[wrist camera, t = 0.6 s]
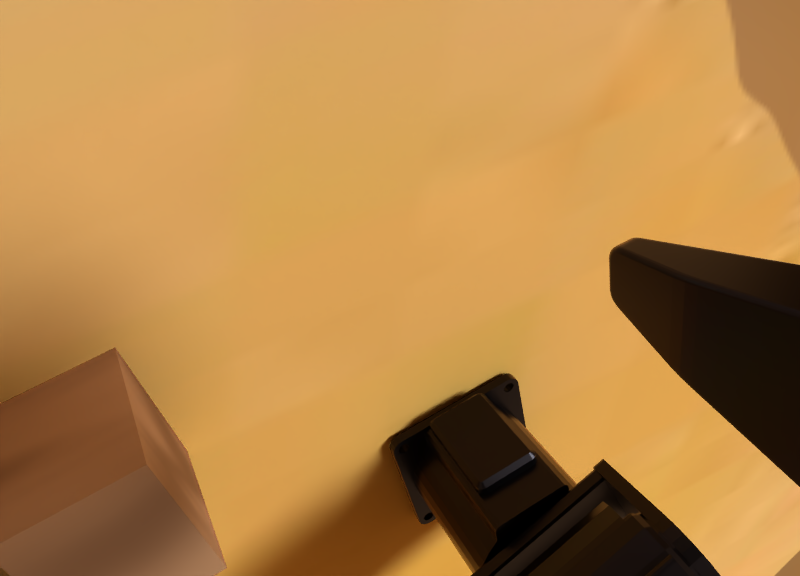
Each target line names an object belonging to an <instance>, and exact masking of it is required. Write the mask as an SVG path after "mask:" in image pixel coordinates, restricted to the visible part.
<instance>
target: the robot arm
mask: <svg viewBox="0 0 800 576" xmlns="http://www.w3.org/2000/svg"><path fill="white" fill-rule="evenodd" d="M609 269H610V292H611V296H612V298H613V301H614V302H615V304H616V305H617V307H618V308H619V309H620V310H621V311H622V312H623V313H624V315H625V316H626V317H627V318H628V319H629V320H630V321H631V323H632V324H633V325H634V326H635V327H636V328H637V329H638V331H639V332H640V333H641V334H642V335H643V336H644V337H645V338H646V340H647V341H648V342H649V343H650V344H651V345H652V346H653V348H654V349H655V350H656V351H657V352H658V353H659V354H660V355H661V357H662V358H663V359H664V360H665V361H666V362H667V363H668V365H669V366H670V367H671V368H672V369H673V370H674V371H675V372H676V373H677V374H678V375H679V376H680V377H681V378H682V379H683V380H684V381H685V382H686V383H687V384H688V385H689V386H690V387H691V388H692V389H693V390H695V391H696V392H697V393H698V394H699V395H700V396H701V397H702V398H703V399H704V400H705V401H707V402H708V403H709V404H710V405H711V406H712V407H713V408H714V409H715V410H716V411H717V412H719V413H720V414H721V415H722V416H723V417H724V418H725V419H726V420H727V421H728V422H729V423H731V424H732V425H733V426H734V427H735V428H736V429H737V430H738V431H739V432H740V433H741V434H743V435H744V436H745V437H746V438H747V439H748V440H749V441H750V442H751V443H752V444H753V445H755V446H756V447H757V448H758V449H759V450H760V451H761V452H762V453H763V454H764V455H765V456H767V457H768V458H769V459H770V460H771V461H772V462H773V463H774V464H775V465H776V466H777V467H779V468H780V469H781V470H782V471H783V472H784V473H785V474H786V475H787V476H788V477H789V478H791V479H792V480H793V481H794V482H795V483H796V484H797V485H798V486H799V487H800V265H797V264H791V263H785V262H779V261H773V260H767V259H761V258H755V257H750V256H744V255H738V254H732V253H726V252H720V251H714V250H708V249H702V248H696V247H690V246H684V245H678V244H672V243H667V242H661V241H655V240H649V239H643V238H632V239H629V240H627V241H626V242H624V243H622V244H620V245H618V246H616V247H614V248H613V249H612V250H611V252H610V255H609ZM390 450H391V452H392V455H393V458H394V460H395V463H396V465H397V468H398V471H399V473H400V476H401V478H402V481H403V484H404V486H405V489H406V491H407V494H408V496H409V499H410V502H411V504H412V507H413V509H414V512H415V515H416V517H417V518H418V520H419V521H420V523H421V524H427V523H429V522H431V521H433V520H434V519H437V520H438V522H439V523H440V525H441V526H442V528H443V529H444V531H445V532H446V534H447V535H448V537H449V538H450V540H451V541H452V543H453V544H454V546H455V547H456V549H457V550H458V552H459V553H460V555H461V556H462V558H463V559H464V561H465V562H466V564H467V565H468V567H469V568H470V570H471V571H472V573H473V574H472V575H471V576H720V574H719V573H718V572H717V571H716V569H715V568H714V567H713V566H712V564H711V563H710V562H709V561H708V560H707V559H706V557H705V556H704V555H703V554H702V553H701V552H700V551H699V550H698V548H697V547H696V546H695V545H694V544H693V543H692V542H691V541H690V540H689V539H688V538H687V537H686V536H685V535H684V533H683V532H682V531H681V530H680V529H679V528H678V527H677V526H676V525H675V524H674V523H673V522H672V521H670V520H669V519H668V518H667V517H666V516H665V515H664V514H663V513H662V512H661V511H660V510H659V509H657V508H656V507H655V506H654V505H653V504H652V503H651V502H650V501H649V500H648V499H646V498H645V497H644V496H643V495H642V494H641V493H640V492H639V491H638V490H637V489H635V488H634V487H633V486H632V485H631V484H630V483H629V482H628V481H627V480H626V479H624V478H623V477H622V476H621V475H620V474H619V473H618V472H617V471H616V470H615V469H614V468H612V467H611V466H610V465H609V464H608V463H607V462H606V461H605V460H604V459H602V460H601V461H600V462H599V463H598V464H596V465H595V466H594V467H593V468H594V470H593V471H592V472H591V473H590V474H588V475H587V476H586V477H585V478H584V479H583V480H581V481H580V482H579V483H578V484H576V483H575V482H574V481H573V479H572V478H571V477H570V476H569V475H568V474H567V473H566V472H565V471H564V470H563V468H562V467H561V466H560V465H559V464H558V463H557V462H556V461H555V460H554V459H553V457H552V456H551V455H550V454H549V453H548V452H547V451H546V450H545V449H544V448H543V446H542V445H541V444H540V443H539V442H538V441H537V440H536V439H535V438H534V437H533V435H532V434H531V433H530V432H529V431H528V430H527V429H526V426H525V420H524V414H523V409H522V403H521V397H520V391H519V386H518V381H517V380H516V379H515V378H514V377H513V376H512V375H511V374H504V375H502V376H500V377H498V378H497V379H495V380H493V381H491V382H490V383H488V384H486V385H484V386H483V387H481V388H479V389H478V390H476V391H474V392H472V393H471V394H469V395H467V396H465V397H464V398H462V399H460V400H459V401H457V402H455V403H453V404H452V405H450V406H448V407H446V408H445V409H443V410H441V411H439V412H438V413H436V414H434V415H433V416H431V417H429V418H427V419H426V420H424V421H422V422H420V423H419V424H417V425H415V426H413V427H412V428H410V429H408V430H407V431H405V432H403V433H401V434H400V435H398V436H396V437H395V438H394V439H393V440H392V441H391V443H390ZM0 576H10V575H9V574H8V573H7V572H6V571H5V570H4V569H2V568H1V567H0Z"/></svg>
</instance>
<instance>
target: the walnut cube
mask: <svg viewBox="0 0 800 576" xmlns="http://www.w3.org/2000/svg"><path fill="white" fill-rule="evenodd" d="M0 567H1V568H2V569H4V570H5V571H6V572H7V573H8V574H9V575H10V576H214V575H216V574H217V573H219V572H221V571H223V570H224V569H226V568H227V566H226V564H225V561H224V558H223V555H222V552H221V549H220V546H219V543H218V540H217V537H216V534H215V531H214V528H213V525H212V522H211V519H210V517H209V514H208V511H207V508H206V505H205V502H204V499H203V496H202V493H201V490H200V487H199V484H198V481H197V478H196V475H195V472H194V470H193V467H192V464H191V461H190V458H189V455H188V452H187V450H186V448H185V447H184V446H183V444H182V443H181V441H180V440H179V438H178V437H177V435H176V434H175V433H174V431H173V430H172V428H171V427H170V425H169V424H168V423H167V421H166V420H165V418H164V417H163V415H162V414H161V413H160V411H159V410H158V408H157V407H156V405H155V404H154V403H153V401H152V400H151V398H150V397H149V395H148V394H147V393H146V391H145V390H144V388H143V387H142V385H141V384H140V383H139V381H138V380H137V378H136V377H135V375H134V374H133V373H132V371H131V370H130V368H129V367H128V365H127V364H126V362H125V361H124V360H123V358H122V357H121V355H120V354H119V352H118V351H117V350H116V348H113V349H111V350H109V351H107V352H105V353H103V354H101V355H99V356H97V357H95V358H93V359H91V360H89V361H87V362H85V363H83V364H81V365H78V366H76V367H74V368H72V369H70V370H68V371H66V372H64V373H62V374H60V375H58V376H56V377H54V378H52V379H50V380H48V381H46V382H44V383H42V384H40V385H38V386H36V387H34V388H32V389H30V390H28V391H26V392H24V393H22V394H19V395H17V396H15V397H13V398H11V399H9V400H7V401H5V402H3V403H1V404H0Z"/></svg>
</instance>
